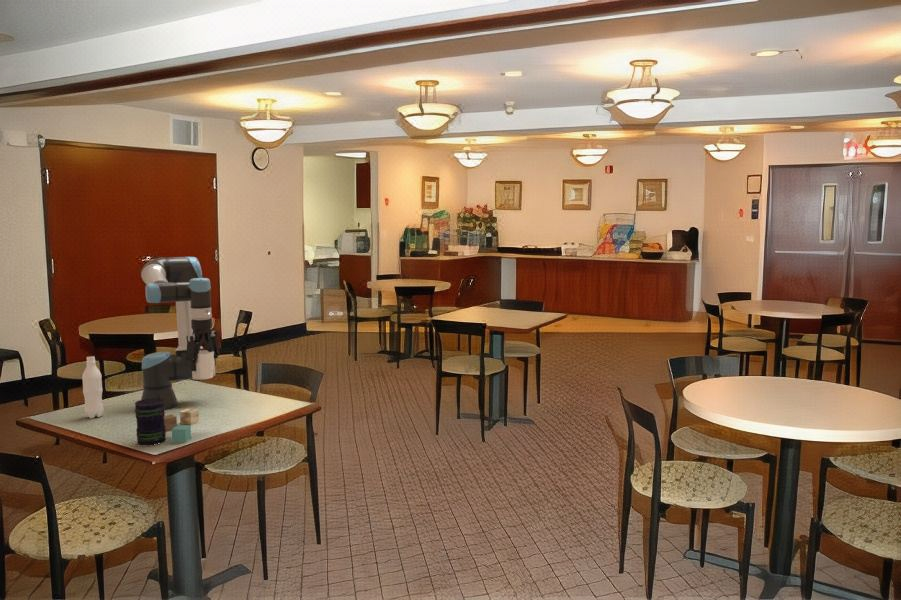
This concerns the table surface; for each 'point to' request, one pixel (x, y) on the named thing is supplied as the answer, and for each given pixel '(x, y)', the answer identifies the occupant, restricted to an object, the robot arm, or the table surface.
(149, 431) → the storage jar
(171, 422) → the walnut block
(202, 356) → the white cup
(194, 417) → the maple block
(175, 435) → the teal block
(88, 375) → the water bottle
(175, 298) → the robot arm
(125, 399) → the table surface
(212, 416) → the table surface
